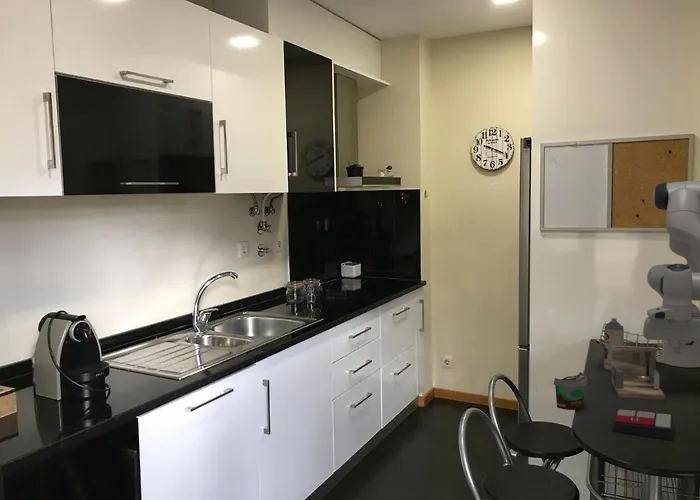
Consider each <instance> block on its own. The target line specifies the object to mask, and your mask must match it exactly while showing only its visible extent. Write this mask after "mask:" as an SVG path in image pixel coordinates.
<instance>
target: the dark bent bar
mask: <svg viewBox="0 0 700 500" xmlns="http://www.w3.org/2000/svg"><path fill="white" fill-rule="evenodd" d="M645 356H647V364H646V376H649V356H651V352H645ZM648 382H650V381H648Z"/></svg>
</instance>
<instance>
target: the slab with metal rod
mask: <svg viewBox="0 0 700 500" xmlns="http://www.w3.org/2000/svg"><path fill="white" fill-rule="evenodd" d="M635 380H641V381H650V383H651V385H652V386H653V388H654V389H659V388H660V373H659V372H658V370H656V368H655V369H651V375H650V376H635Z"/></svg>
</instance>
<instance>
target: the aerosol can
mask: <svg viewBox="0 0 700 500" xmlns="http://www.w3.org/2000/svg"><path fill="white" fill-rule="evenodd" d="M624 331H625V329H624V326H623V325H622V324H621V323H619V321H618V320H617V318H616V317H611V320H610V321H609V322H607V324H605V325H604V332H603V334H604V336H603V337H604V338H603V339H604V341H603V342H604V343H603V344H604V345H603V346H604V347H603V353H604V354H603V355H604V356H603V363H604V364H603V369H604V370H605V371H607V372H611V373H612V346H625V345H624V342H625V340H624V338H625V337H624V336H625V334H624V333H625V332H624Z"/></svg>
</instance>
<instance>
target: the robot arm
mask: <svg viewBox="0 0 700 500" xmlns="http://www.w3.org/2000/svg"><path fill="white" fill-rule="evenodd" d="M652 193H653V194H652V201H653V204H654V206H655V208H657V209H659V210H661V211H666V213H665V228H666V229H665V230H666V232H667V233H668V235H669V240H668V241H669V242H668V243H669V244H668V246H669V249H670V251H671V252H672V253H674V254H676V255H677V256H680V257H682V258H684V259H685V260H686V264H685V263H673V264H672V263H669V264H668V263H665V264H664V263H663V264H657V265H653V266H651V268H649V270H648V272H647V277H646V278H647V279H646V281H647V284H648V285H649V287H650V288H651V289H652V290H653V291H655V292H656V293H658V295H659V296H660V297H661V299H662V306H658V307H654V308H653V307H652V308H650V309H648V310H647V311H646V312H647V313H646V314H647V317H646V318H645V320H644V322H643V323H644V324H643V329H642V335H643V337H644V338H645V340H649V341H651V340H653V341H661V342H657V348H658V349H657V350H656V351H655V362H658V363H660V364H666V365H668V366H673V367H674V366H675V367H680V368H699V367H700V309H699V307H698V306H697V305H696V304H694V303H693V301H698V302H699V301H700V180H686V181H674V182H669V183H668V182H661V183H658V184H657V185H656V186H655V188H654V191H653V192H652ZM658 354H659V355H660V356H657V357H656V355H658Z"/></svg>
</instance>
